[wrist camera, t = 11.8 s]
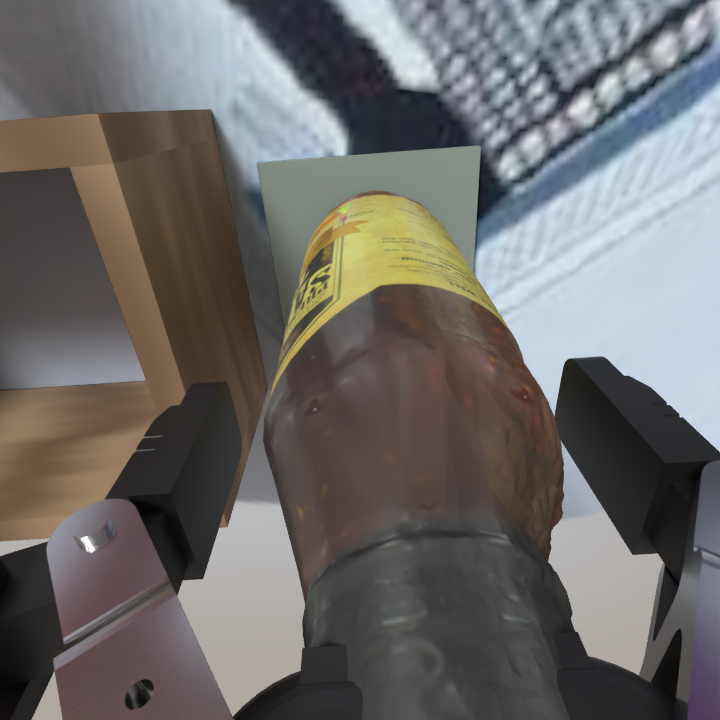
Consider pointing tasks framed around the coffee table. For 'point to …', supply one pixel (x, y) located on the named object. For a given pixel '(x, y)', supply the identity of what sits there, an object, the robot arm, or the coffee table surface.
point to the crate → (133, 306)
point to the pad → (358, 175)
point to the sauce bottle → (417, 474)
